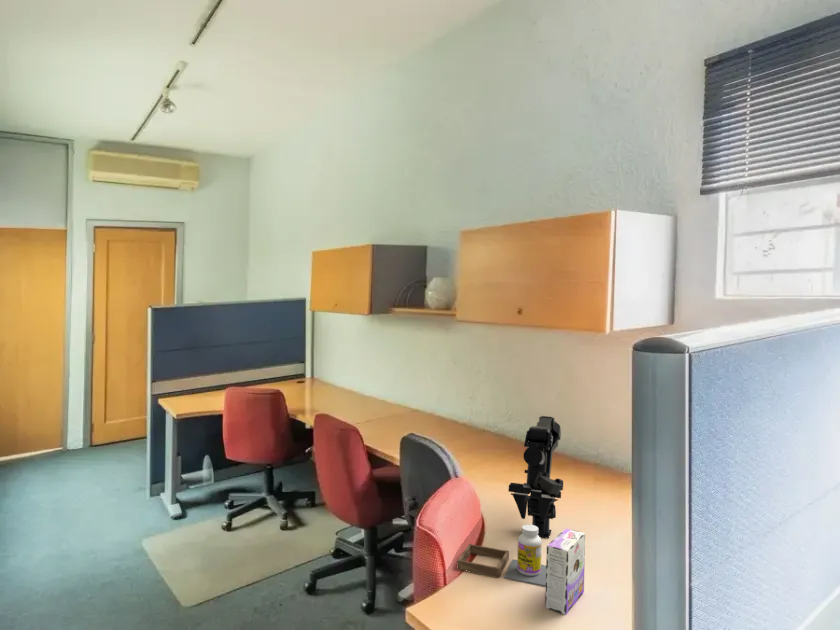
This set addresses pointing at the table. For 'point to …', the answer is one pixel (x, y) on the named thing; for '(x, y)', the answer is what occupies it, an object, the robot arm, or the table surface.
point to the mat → (515, 575)
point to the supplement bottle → (529, 551)
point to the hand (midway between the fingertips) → (533, 519)
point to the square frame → (481, 568)
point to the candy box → (565, 571)
